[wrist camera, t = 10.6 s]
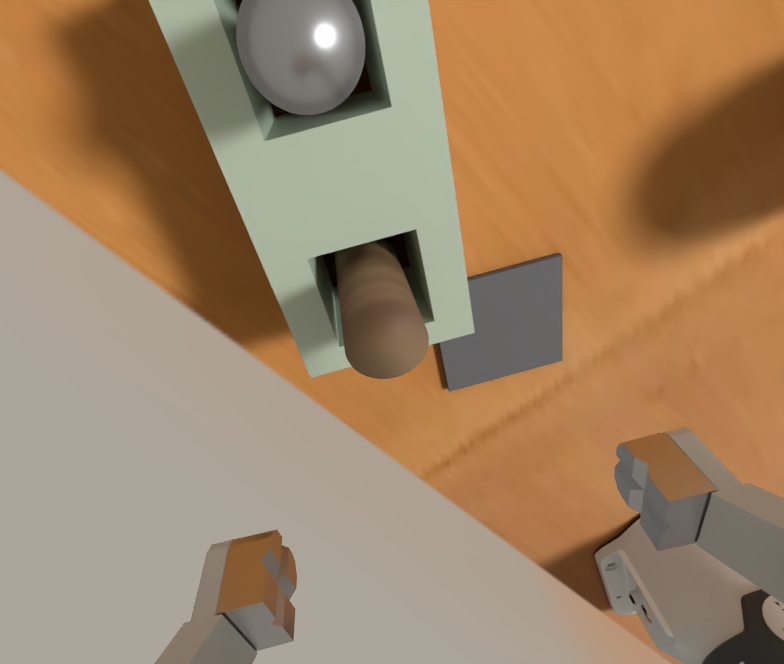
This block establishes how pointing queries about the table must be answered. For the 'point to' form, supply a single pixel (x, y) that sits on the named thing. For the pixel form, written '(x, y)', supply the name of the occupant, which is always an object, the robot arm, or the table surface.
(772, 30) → the table surface
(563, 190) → the table surface
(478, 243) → the table surface
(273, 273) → the socket block
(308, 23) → the grey metal peg
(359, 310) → the walnut peg
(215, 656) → the robot arm
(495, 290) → the mat
